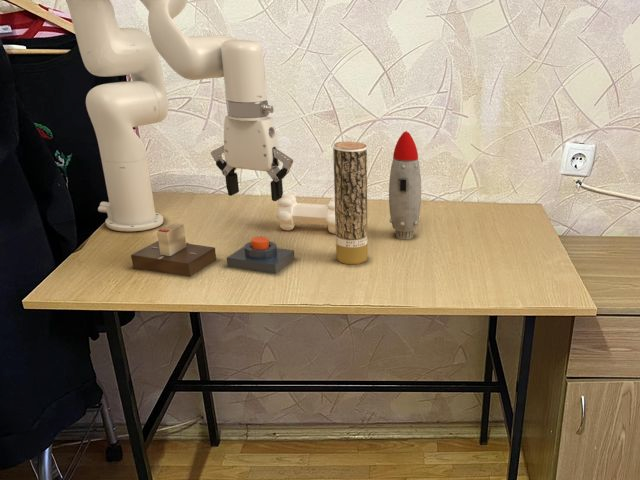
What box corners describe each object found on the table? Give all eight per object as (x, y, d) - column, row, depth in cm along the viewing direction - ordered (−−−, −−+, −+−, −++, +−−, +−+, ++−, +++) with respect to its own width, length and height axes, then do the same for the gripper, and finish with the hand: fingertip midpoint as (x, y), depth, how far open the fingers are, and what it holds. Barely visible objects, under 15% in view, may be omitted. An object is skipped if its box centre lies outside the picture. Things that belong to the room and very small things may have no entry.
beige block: (177, 245, 152) (173, 221, 149) (186, 246, 151) (183, 222, 149) (160, 254, 146) (156, 230, 144) (170, 256, 146) (166, 231, 143)
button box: (227, 267, 150) (225, 249, 149) (248, 253, 158) (247, 235, 156) (275, 274, 149) (274, 256, 147) (294, 259, 156) (293, 242, 154)
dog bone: (346, 226, 178) (346, 194, 174) (339, 238, 170) (339, 204, 166) (286, 222, 178) (284, 190, 174) (277, 233, 170) (274, 200, 166)
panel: (132, 268, 147) (130, 254, 145) (162, 252, 156) (160, 238, 154) (189, 277, 145) (187, 263, 143) (216, 260, 153) (215, 246, 152)
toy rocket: (386, 241, 170) (386, 133, 158) (391, 230, 177) (391, 126, 165) (418, 243, 170) (420, 136, 158) (421, 232, 177) (424, 128, 165)
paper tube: (372, 257, 160) (372, 144, 148) (359, 267, 154) (357, 150, 143) (345, 252, 162) (342, 140, 150) (330, 262, 156) (327, 146, 144)
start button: (248, 249, 150) (247, 241, 150) (256, 243, 154) (256, 235, 153) (264, 251, 150) (263, 243, 149) (272, 245, 153) (271, 237, 152)
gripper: (297, 110, 140) (302, 196, 148) (217, 102, 143) (226, 187, 151) (279, 117, 133) (286, 206, 141) (196, 108, 137) (207, 196, 145)
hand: (255, 196), depth 146 cm, fingers open, 9 cm apart
